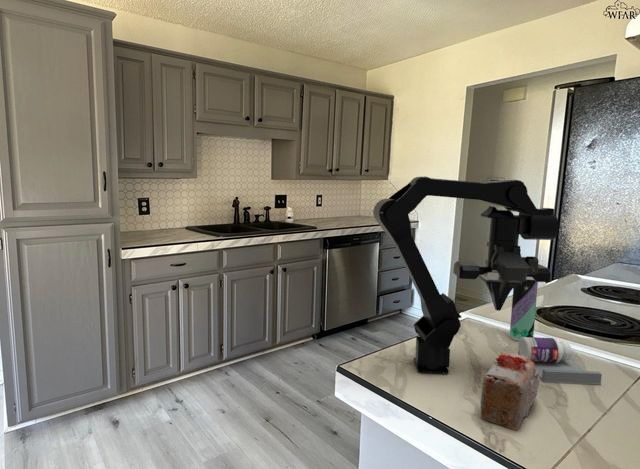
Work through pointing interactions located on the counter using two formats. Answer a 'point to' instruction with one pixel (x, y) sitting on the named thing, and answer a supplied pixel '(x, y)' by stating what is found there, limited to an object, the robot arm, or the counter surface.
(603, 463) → the counter surface
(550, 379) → the tray
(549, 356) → the pill bottle
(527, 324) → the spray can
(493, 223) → the robot arm
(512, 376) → the food item
